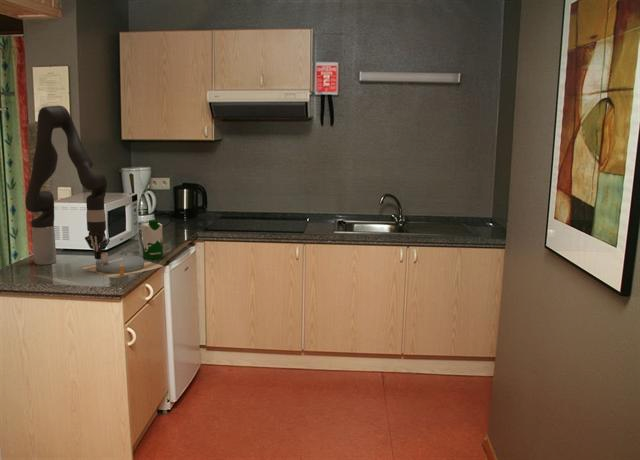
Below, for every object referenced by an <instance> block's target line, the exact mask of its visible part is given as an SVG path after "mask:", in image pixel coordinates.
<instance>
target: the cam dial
mask: <svg viewBox="0 0 640 460" xmlns="http://www.w3.org/2000/svg"><path fill="white" fill-rule="evenodd" d="M108 255H109V254H108V252H102V253H101V259H99V260H97V259H96V260H95V264H96V270H97V271H100V272H104V273H120V265H124V273H125V272H132V271H136V270H139V269H141V268H143V267H144V261H145V258H143V256H140V255H133V254H132V255H131V254H121V255H110V256H108Z"/></svg>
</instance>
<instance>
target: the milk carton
mask: <svg viewBox="0 0 640 460" xmlns="http://www.w3.org/2000/svg"><path fill="white" fill-rule="evenodd" d="M140 225H141V237H142V241H141V242H142V243H141V244H142V258H143V259H144V260H146V261H153V260H154V261H155V260H162V259H163V258H164V251H163V250H164V249H163V248H164V245H163V243H164V242H163V239H164V238H163V224H162V223H160V222H159V220H158V219H149V220H148V222H145V223H144V222H143V223H140Z"/></svg>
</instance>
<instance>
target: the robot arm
mask: <svg viewBox="0 0 640 460" xmlns="http://www.w3.org/2000/svg"><path fill="white" fill-rule="evenodd" d="M36 127H37V130H36V131H37V132H36V141H35V142H36V143H35V149H34V153H33V161H32V167H31V173H30V174H31V175H30V180H29V183H28V187H27V190H26V194H25V201H24V202H25V209H26V210H27V211H28V212H30V213H37V212H38V213H39V212H41V214H40V215H39V216H38V217H36V218H33V219H32V220H31V222H30V223H31V225H30V226H31V236H32V237H31V238H32V252H33V253H32V254H33V262H34V264H35V265H38V266H39V265H40V266H41V265H51V264H54V263H57V251H56V249H57V248H56V238H55V237H56V234H55V199H54V195H53V193H52V192H51V191H50V190H42V187H43V185H44V184H45V183H46V182H47V181H48V180H49V179H51V177H52V176H53V175H54V173H55V172H56V170H57V169H56V168H57V166H58V165H57V164H58V159H59V155H58V152H57V150H56V148H55V146H54V144H53V141H52V137H53V130H54V129H60V128H61V130H62V131H63V132H64V134H65V137H66V141H67V142H66V143H67V146H66V147H67V148H66V149H67V154H68V157H69V158H70V160H71V162H72V164H73V166H74V167H75V168H76V172H77V175H78V178H79V182H80V184H81V186H82V187H83V188H84V189H86V190H88V191H91V194H90V195H87V197H86V199H85V200H86V202H85V203H86V214H85V215H86V229H87V232H88V235H87V236H85V237H84V240H85V241H86V244H87V245H88V247H89V249H90V250H93V251H94V253H93V254H94V260H96V261H97V260H99V259H101V253H103V252H102V251H103V250H106V248H107V247H108V245H109V244H110V242H111V240H110V239H109V238H107V237H106V236H107V235H106V233H105V231H106V230H107V218H106V215H107V214H106V209H105V198H106V193H107V188H108V179H107V177H106V176H105V173H102V172H92V170H91V168H93V166H94V163H93V160H92V159H91V157H90V155H89V154H88V152H87V150H86V148H85V147H84V144H83V143H82V140H81V139H80V136H79V134H78V131H77V129H76V125H75V123H74V121H73V119H72V117H71V114H70V112H69V111H68V109H67V108H66V107H65V106H63V105H48V106H43V107H41V108H40V109H39V111H38V115H37V125H36Z"/></svg>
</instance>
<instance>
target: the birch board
mask: <svg viewBox="0 0 640 460" xmlns="http://www.w3.org/2000/svg"><path fill="white" fill-rule="evenodd" d="M163 267H164V268H165V267H166V266H165V265H162V264H158V263H155V262H151V261H149V260H144V267H143V268H141V269H139V270H136V271H132V272H125V273H124V265H120V273H104V272H100V271H97V270H96V263H94V264H89V265H84V266H80V267H79V268H81V269H84V270H86V271H89V272H93V273H96V274H98V275H99V274H100V275H102V276H105V277H108V278H111V279H117V278H121V277H124V276H125V277H126V276H130V275H135V274H138V273H142V272H146V271H152V270H155V269H159V268H160V269H161V268H163Z"/></svg>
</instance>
